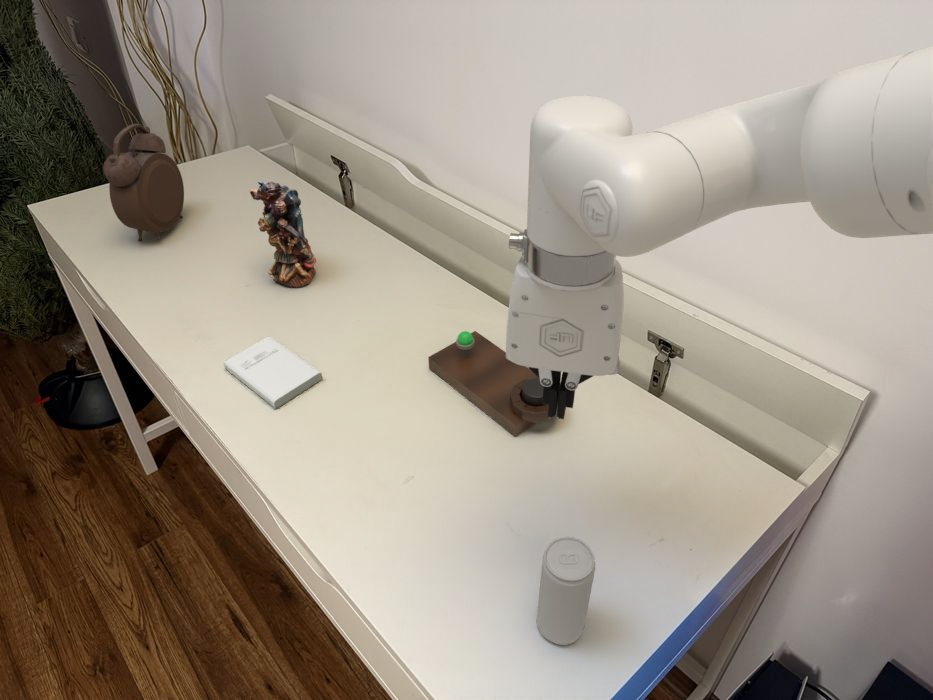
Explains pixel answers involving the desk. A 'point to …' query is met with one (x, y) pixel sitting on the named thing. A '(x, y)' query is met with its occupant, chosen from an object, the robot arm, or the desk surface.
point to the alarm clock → (144, 183)
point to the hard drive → (273, 371)
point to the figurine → (285, 234)
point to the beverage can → (565, 589)
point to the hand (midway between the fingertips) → (557, 408)
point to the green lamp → (465, 340)
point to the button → (533, 392)
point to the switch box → (489, 383)
